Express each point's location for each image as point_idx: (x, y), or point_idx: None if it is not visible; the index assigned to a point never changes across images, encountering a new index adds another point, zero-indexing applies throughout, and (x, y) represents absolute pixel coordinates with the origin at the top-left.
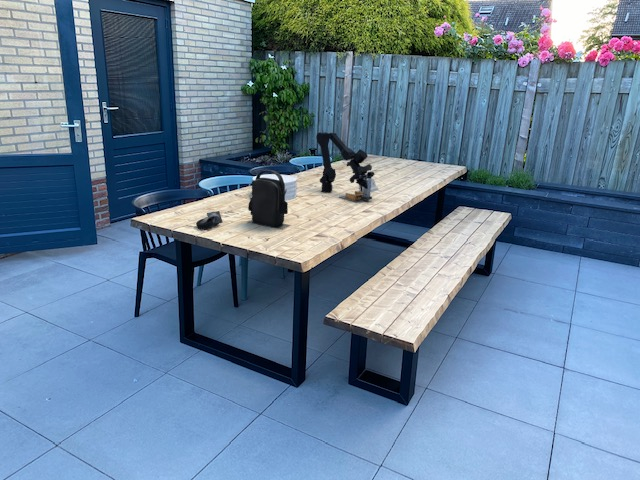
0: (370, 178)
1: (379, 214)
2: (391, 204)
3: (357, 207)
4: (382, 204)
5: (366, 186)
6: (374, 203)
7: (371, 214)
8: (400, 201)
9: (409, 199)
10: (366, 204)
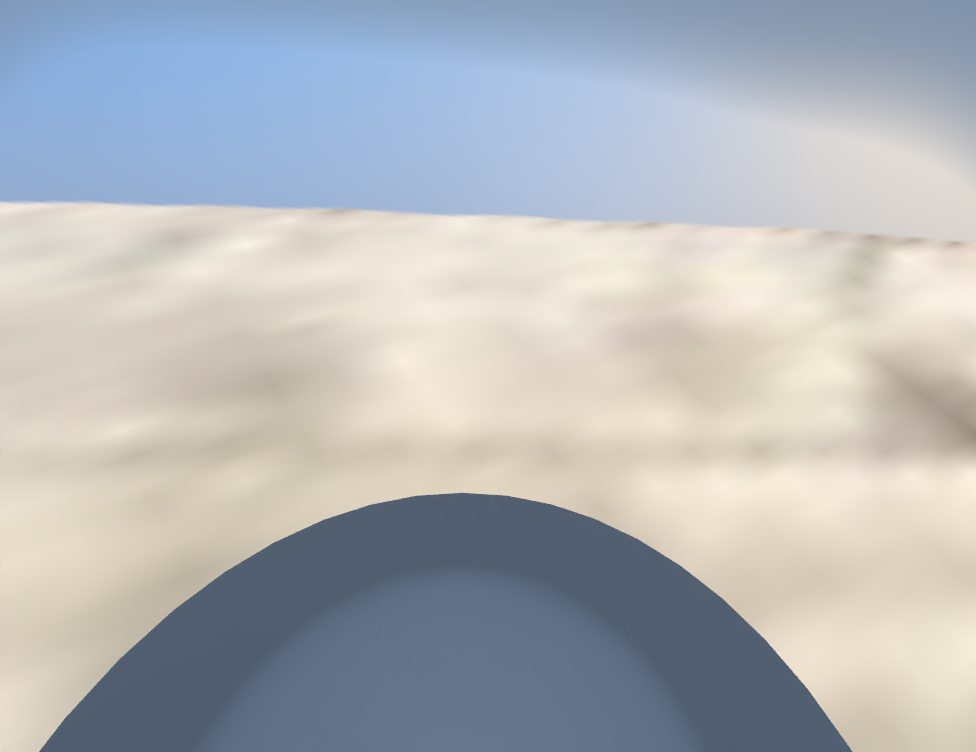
0: (253, 668)
1: (890, 275)
2: (413, 300)
3: (936, 618)
4: (486, 383)
5: None
6: None
7: (972, 330)
8: (187, 263)
9: (20, 214)
10: None
